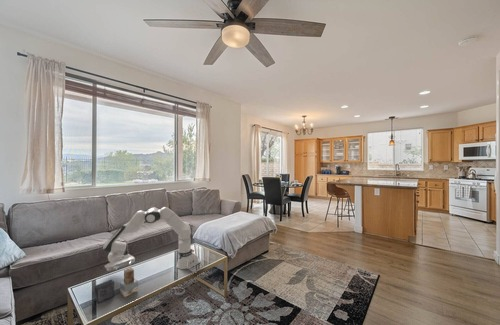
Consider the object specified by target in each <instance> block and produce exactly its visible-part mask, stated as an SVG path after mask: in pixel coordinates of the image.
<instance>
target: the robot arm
mask: <svg viewBox="0 0 500 325" xmlns="http://www.w3.org/2000/svg"><path fill="white" fill-rule="evenodd" d="M160 219H161V220H162V221H164V222H165V223H166V224H167V225H168V226H169V227H170V228H172V230H173V231H174V232H175V233H176V234H177V236H178V251H177V258H178V259H177V263H176V268H177V269H181V270H185V269H187V270H190V269H192V268H193V266H194V267H195V266H197V265H198V264H200V263H201V259H200V258H199V257H198V255H197V254H196V253H194V252H195V250H194V249H192V248H191V241H192V240H191V234H192V230H191V225H190V224H189V223H188V222H184V221H183V219H182V218H181V217H180V216H179V215H178V214H176V212H174V211H173V209H170V208H169V207H167V206H163V207H161V208H159V207H158V206H152V207H149V208H147V209H146V210H145V211H144V210H138V211H136V213H134V215H133V216H132V217H131V218H130V220H129V221H128V222H127V223H125V224H123V225H120V227H119V228H118V229H117V230H116V231H115V232H114V234H113V235H111V236H110V238H108V239H107V241H105V242H104V244H103V246H102V251H103V252H104V253H105V254H107V253H108V255H107V260H108V263H107V264H105V265H104V268H105V269H106V271H107V272H110V271H114V270H115V271H118V270H119V268H121V267H125V266H127V265H128V266H132V264H134V263H135V262H136V258H135V256H133V255H131V254H130V253H127V250H128V243H127V242H125V241H118V239H119V238H120V237H121V236H123V235H125V234H131V233H135V232H138V231H139V230H140V229H141V228H142V227H143V225H144V223H145V222H146V223H147V224H154V223H155V222H157V221H159V220H160Z"/></svg>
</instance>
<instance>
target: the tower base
mask: <svg viewBox="0 0 500 325" xmlns="http://www.w3.org/2000/svg"><path fill="white" fill-rule="evenodd" d="M138 288H139V285H138V286H137V287H135V288H133V289H131V290H129V291H127V292H125V291H123V290H122V289H121V288H120V287H119V293H120V294H121V295H122V296H123V297H124V298H126V297H128V296H130V295H132V294H135V293H136V292H138ZM134 292H135V293H134Z"/></svg>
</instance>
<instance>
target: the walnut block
mask: <svg viewBox="0 0 500 325" xmlns="http://www.w3.org/2000/svg"><path fill="white" fill-rule="evenodd" d="M123 274H124V275H123V281H124V282H125V283H126V284H129V283H132V282H134V279H135V269H134V268H132V267H129V268H127V269H124V270H123Z"/></svg>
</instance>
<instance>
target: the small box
mask: <svg viewBox="0 0 500 325" xmlns="http://www.w3.org/2000/svg"><path fill="white" fill-rule="evenodd" d="M113 297H115V282H114V281H113V279H109V280H106V281H104V282H101V283H99V284H96V285H95V286H94V300H95V303H96V304H100V303H102V302H104V301H107V300H109V299H111V298H113Z"/></svg>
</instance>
